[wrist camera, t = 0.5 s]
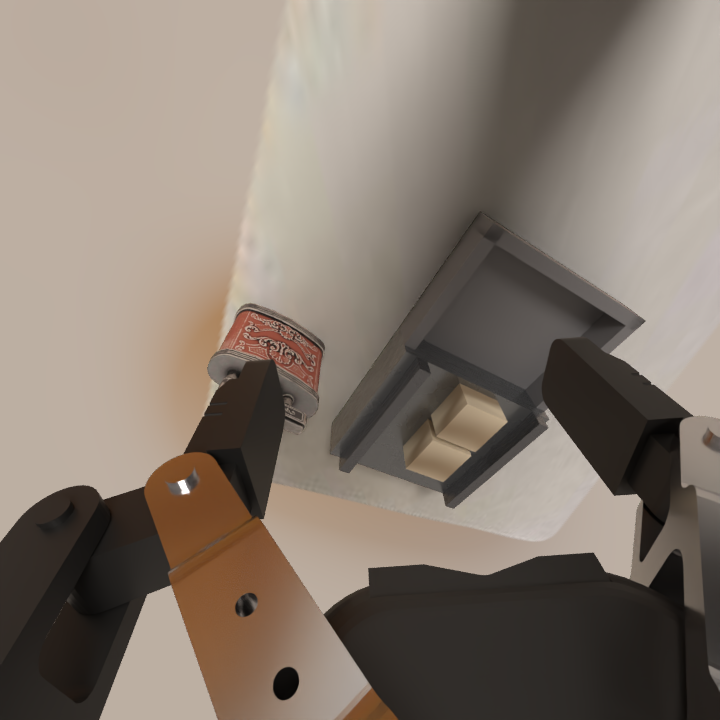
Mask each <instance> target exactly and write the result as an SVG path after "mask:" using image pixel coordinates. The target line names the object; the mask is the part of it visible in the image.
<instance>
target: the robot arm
mask: <svg viewBox="0 0 720 720" xmlns="http://www.w3.org/2000/svg"><path fill="white" fill-rule="evenodd" d="M542 396H543V400H544V402H545V404H546V406H547V407H548V408H549V410H550V411H551V412H552V414H553V415H554V416H555V418H556V419H557V420H558V422H559V423H560V424H561V426H562V427H563V428H564V430H565V431H566V432H567V434H568V435H569V436H570V438H571V439H572V440H573V442H574V443H575V444H576V446H577V447H578V448H579V450H580V451H581V452H582V454H583V455H584V456H585V458H586V459H587V460H588V462H589V463H590V464H591V466H592V467H593V468H594V470H595V471H596V472H597V474H598V475H599V476H600V478H601V479H602V480H603V481H604V483H605V484H606V485H607V487H608V488H609V489H610V491H611V492H612V493H613V495H614V496H616V495H630V494H637V495H638V496H639V497H640V498H641V501H640V503H639V505H638V507H637V513H636V524H635V535H634V547H633V559H632V569H631V575H630V579H627V578H625V577H621V576H618V575H614V574H611V573H606V572H605V571H604V569H603V567H602V566H601V564H600V562H599V561H598V559H597V557H596V556H595V554H594V553H583V554H567V555H553V556H538V557H535V558H533V559H530V560H528V561H525V562H523V563H520V564H517V565H514V566H512V567H509V568H506V569H504V570H501V571H498V572H496V573H493V574H490V575H477V574H471V573H466V572H461V571H455V570H450V569H445V568H440V567H434V566H429V565H424V564H423V565H410V566H394V567H380V568H368V570H369V586H368V587H365V588H363V589H360V590H357V591H356V592H354V593H352V594H350V595H348V596H346V597H345V598H343V599H342V600H340V601H339V602H338V603H336V604H335V605H333V606H332V607H331V608H330V609H329V610H328V611H327V612H326V613H325V614H323V613H322V612H321V610H320V609H319V607H318V606H317V604H316V603H315V601H314V600H313V598H312V597H311V595H310V594H309V592H308V591H307V589H306V588H305V586H304V585H303V583H302V582H301V580H300V578H299V577H298V575H297V574H296V572H295V571H294V569H293V568H292V566H291V565H290V563H289V562H288V560H287V559H286V558H285V556H284V554H283V553H282V551H281V550H280V548H279V547H278V545H277V544H276V542H275V541H274V539H273V538H272V536H271V535H270V533H269V532H268V530H267V529H266V527H265V526H264V524H263V523H262V521H261V520H260V519H264V515H265V510H266V506H267V501H268V497H269V492H270V487H271V483H272V478H273V474H274V469H275V465H276V460H277V455H278V451H279V446H280V442H281V437H282V432H283V428H284V423H285V404H284V399H283V394H282V390H281V385H280V381H279V376H278V372H277V367H276V364H275V361H274V360H273V359H266V360H253V361H246V363H245V365H244V367H243V369H242V371H241V373H240V376H239V378H238V379H229V380H228V381H227V382H226V383H224V384H223V385H222V386H221V387H220V388H219V389H218V390H216V392H215V394H214V396H213V398H212V400H211V402H210V406H208V408H207V410H206V411H205V413H204V417H202V419H201V421H200V423H199V425H198V427H197V429H196V431H195V433H194V435H193V437H192V439H191V440H190V442H189V444H188V447H187V448H186V450H185V452H184V454H183V455H180V456H177V457H175V458H173V459H171V460H169V461H167V462H165V463H164V464H163V465H161V466H160V467H159V468H158V469H156V470H155V471H154V472H153V473H152V475H151V476H150V477H149V479H148V481H147V483H146V485H145V487H142V488H139V489H136V490H133V491H130V492H126V493H123V494H120V495H117V496H114V497H111V498H107V499H105V500H103V499H102V498H101V496H100V495H99V493H98V492H97V490H96V489H94V488H93V487H90V486H84V485H82V486H73V487H69V488H66V489H63V490H60V491H57V492H55V493H53V494H51V495H49V496H47V497H46V498H44V499H42V500H41V501H39V502H38V503H36V504H35V505H34V506H32V507H31V508H30V509H29V510H27V511H26V513H24V514H23V515H22V516H21V518H20V519H19V520H18V521H17V522H16V523H15V525H14V526H13V527H12V528H11V530H10V531H9V532H8V533H7V535H6V536H5V537H4V538H3V540H2V541H1V542H0V720H99V718H100V716H101V713H102V711H103V708H104V706H105V703H106V700H107V698H108V695H109V692H110V690H111V687H112V684H113V682H114V679H115V677H116V674H117V671H118V669H119V666H120V663H121V661H122V659H123V656H124V653H125V651H126V648H127V645H128V643H129V640H130V637H131V635H132V632H133V630H134V627H135V625H136V622H137V619H138V617H139V614H140V611H141V609H142V606H143V603H144V601H145V598H146V596H147V594H149V593H152V592H154V591H157V590H160V589H162V588H165V587H167V586H170V585H171V586H172V589H173V592H174V595H175V598H176V600H177V603H178V606H179V609H180V612H181V615H182V618H183V620H184V623H185V626H186V629H187V632H188V635H189V638H190V641H191V644H192V646H193V649H194V652H195V655H196V658H197V661H198V664H199V666H200V670H201V672H202V675H203V678H204V681H205V684H206V687H207V690H208V693H209V695H210V698H211V701H212V704H213V707H214V710H215V713H216V716H217V718H218V720H720V419H718V418H713V417H706V416H693V415H691V414H690V413H689V412H688V411H686V410H685V409H684V408H683V407H681V406H680V405H679V404H677V403H676V402H675V401H674V400H673V399H671V398H670V397H669V396H668V395H666V394H665V393H664V392H663V391H661V390H660V389H659V388H658V387H656V386H655V385H651V382H650V381H649V380H648V379H646V378H645V377H644V376H642V375H639V372H637V371H636V370H635V369H634V368H632V367H631V366H630V365H629V364H627V363H626V362H625V361H623V360H621V359H618V358H616V357H614V356H612V355H610V354H608V353H606V352H604V351H603V350H601V349H600V348H599V347H598V346H597V345H595V344H594V343H593V342H592V341H590V340H589V339H588V338H586V337H574V338H561V339H556V340H554V341H553V343H552V344H551V347H550V351H549V356H548V360H547V364H546V368H545V373H544V377H543V381H542ZM65 602H66V603H65ZM59 613H60V614H59ZM54 622H55V623H54ZM49 631H50V632H49Z"/></svg>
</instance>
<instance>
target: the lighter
mask: <svg viewBox="0 0 720 720" xmlns="http://www.w3.org/2000/svg"><path fill="white" fill-rule="evenodd" d="M324 351H325V347H324V344H323V342H322V341H321V340H320V339H319V338H317V337H316V336H315V335H314V334H312V333H311V332H310V331H309V330H307V329H306V328H304V327H303V326H301V325H300V324H298V323H297V322H295V321H293V320H292V319H290V318H288V317H286V316H284V315H282V314H280V313H278V312H276V311H273V310H271V309H268V308H265V307H262V306H260V305H257V304H253V303H248V304H245V305H243V306H241V307H240V309H239V310H238V311H237V313H236V315H235V318H234V324H233V325H232V327H231V329H230V331H229V333H228V335H227V336H226V338H225V340H224V342H223V344H222V346H221V347H220V349H219V351H217V352H216V353H215V354H214V355H213V356H212V358H211V360H210V362H209V364H208V367H207V369H208V374H209V376H210V378H211V379H212V380H214V381H215V382H216V383H218V384H219V385H220V386H219V388H220V387H221V386H222V385H223V384H224V383H226V382H227V381H228V380H229V379H238V378H239V376H240V373H241V371H242V369H243V367H244V365H245V363H246V361H253V360H266V359H273V360H274V361H275V364H276V367H277V372H278V376H279V381H280V385H281V390H282V394H283V399H284V404H285V423H284V428H283V429H284V430H286V431H288V432H291V433H293V434H296V435H298V434H300V433H302V432H303V431H304V430H305V428H306V422H307V418H310V417H312V416H313V415H314V414H315V413H316V411H317V410H318V403H319V396H318V393H317V391H318V383H319V375H320V367H321V361H322V360H323V358H324ZM219 388H218V389H219Z"/></svg>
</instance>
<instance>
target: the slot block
mask: <svg viewBox="0 0 720 720" xmlns="http://www.w3.org/2000/svg"><path fill="white" fill-rule="evenodd" d="M459 383H460V384H462V385H464V386H467V387H469V388H471V389H473V390H475V391H477V392H480V393H482V394H484V395H486V396H488V397H490V398H493V399H495V400H497V401H498V403H499V405H500V407H501V409H502V411H503V413H504V415H505V417H506V419H507V421H508V422H507V423H506V424H505V425H504V426H503V427H502V428H501V429H500V430H499V431H498V432H496V433H495V434H494V435H493V436H492V437H491V438H490V439H489V440H488V441H487V442H486V443H485V444H484V445H483V446H481V447H480V448H479V449H478V450H477V451H476V452H473V451H471V450H470V453H471V457H470V458H469V459H468V460H466V461H465V462H464V463H463V464H462V465H461V466H460V467H459V468H458V469H457V470H456V471H455V472H454V473H453V474H451V475H450V476H449V477H448V478H447V479H446V480H445V481H444V482H441V481H439V480H436V479H433V478H430V477H428V476H425V475H422V474H419V473H416V472H414V471H411V470H408V469H406V465H405V459H404V452H403V446H404V445H405V444H406V442H407V441H408V440H409V439H410V438H411V437H412V436H413V435H414V434H415V432H416V431H417V430H418V429H419V428H420V427H421V426H422V425H423V424H424V422H425V421H426V420H427V419H429V420H431V421H432V417H431V415H432V413H433V412H434V411H435V410H436V409H437V408H438V407H439V406H440V405H441V403H442V402H443V401H444V400H445V399H446V398H447V397H448V396H449V394H450V393H451V392H452V391H453V390H454V389H455V388H456V387H457V386H458V384H459ZM548 420H549V418H548V416H547V415H546V413H545V412H544V411H542V410H540V409H538V408H536V406H535V405H534V403H533V401H532V400H531V398H530V397H529V395H528V393H527V392H526V390H525V389H523V388H521V387H519V386H517V385H515V384H513V383H511V382H509V381H507V380H505V379H503V378H501V377H498V376H496V375H494V374H492V373H490V372H488V371H486V370H484V369H482V368H480V367H478V366H476V365H474V364H472V363H470V362H468V361H466V360H464V359H462V358H460V357H458V356H456V355H454V354H451V353H449V352H447V351H445V350H443V349H441V348H439V347H437V346H435V345H433V344H431V343H429V342H427V341H425V340H422V341H421V343H420V344H419V345H418V347H417V348H416V349H415V350H414V349H412V348H410V347H408V346H406V345H404V341H403V336H402V331H401V327H399V328H398V330H397V331H396V333H395V334H394V336H393V337H392V338H391V340H390V341H389V343H388V344H387V346H386V347H385V348H384V350H383V351H382V353H381V354H380V356H379V357H378V358H377V360H376V361H375V363H374V364H373V366H372V367H371V368H370V370H369V371H368V373H367V374H366V376H365V377H364V378H363V380H362V381H361V383H360V384H359V386H358V387H357V388H356V390H355V391H354V393H353V394H352V396H351V397H350V398H349V400H348V401H347V403H346V404H345V406H344V407H343V408H342V410H341V411H340V413H339V414H338V416H337V417H336V418H335V420H334V421H333V423H332V434H331V449H330V454H332V455H335V456H338V457H340V463H339V470H340V471H343V472H346V473H350V471H351V470H352V469H353V468H354V467H355V465H356V464H357V463H358V464H361V465H364V466H367V467H370V468H372V469H375V470H378V471H381V472H384V473H387V474H390V475H393V476H395V477H398V478H401V479H404V480H407V481H410V482H413V483H415V484H418V485H421V486H424V487H427V488H430V489H433V490H436V491H438V492H441V493H443V496H444V501H445V505H446V506H447V507H450V508H453V509H454V508H455V507H456V506H457V505H459V504H460V503H461V502H462V501H463V500H464V499H466V498H467V497H468V496H469V495H470V494H472V493H473V492H474V491H475V490H476V489H477V488H479V487H480V486H481V485H482V484H483V483H484V482H486V481H487V480H488V479H489V478H490V477H491V476H493V475H494V474H495V473H496V472H497V471H498V470H500V469H501V468H502V467H503V466H504V465H506V464H507V463H508V462H509V461H510V460H511V459H513V458H514V457H515V456H516V455H517V454H518V453H520V452H521V451H522V450H523V449H524V448H525V447H527V446H528V445H529V444H530V443H531V442H532V441H534V440H535V439H536V438H537V437H538V436H540V435H541V434H542V433H543V432H544V431H545V430H547V429H548V426H547V425H546V422H547V421H548Z"/></svg>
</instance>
